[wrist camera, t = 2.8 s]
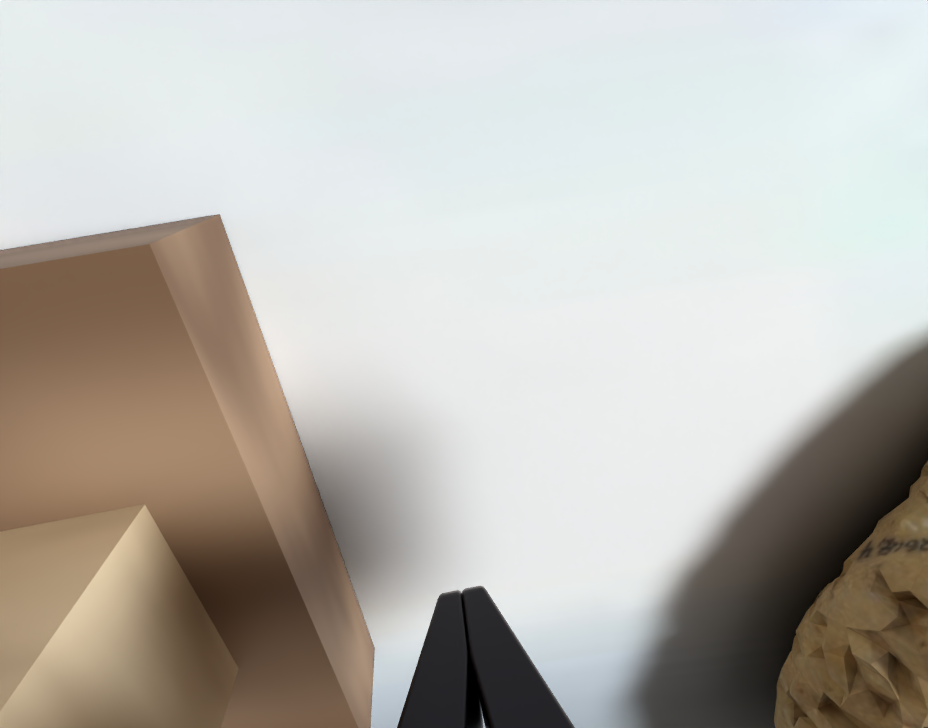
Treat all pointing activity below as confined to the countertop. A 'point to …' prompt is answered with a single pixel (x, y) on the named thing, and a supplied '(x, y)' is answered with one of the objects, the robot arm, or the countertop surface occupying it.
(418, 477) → the countertop surface
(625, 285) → the countertop surface
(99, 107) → the countertop surface
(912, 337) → the countertop surface
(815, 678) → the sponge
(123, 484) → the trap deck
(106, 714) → the maple block
